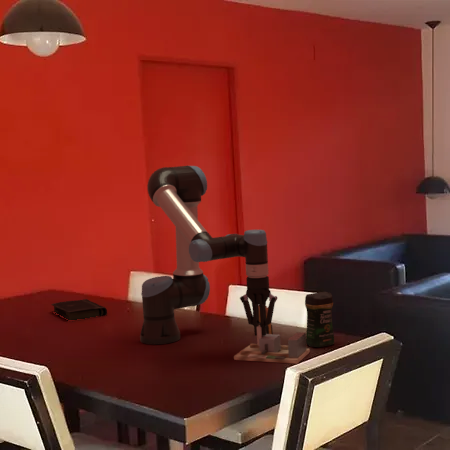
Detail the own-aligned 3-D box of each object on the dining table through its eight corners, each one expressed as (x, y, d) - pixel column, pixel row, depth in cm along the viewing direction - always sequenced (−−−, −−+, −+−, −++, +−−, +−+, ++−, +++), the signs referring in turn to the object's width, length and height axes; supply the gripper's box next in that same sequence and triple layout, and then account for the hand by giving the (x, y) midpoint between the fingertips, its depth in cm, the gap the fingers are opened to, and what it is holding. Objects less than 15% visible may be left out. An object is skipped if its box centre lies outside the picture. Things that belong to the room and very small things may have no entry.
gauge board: (233, 359, 246) (233, 352, 246) (249, 348, 259) (249, 341, 259) (297, 364, 238) (296, 356, 237) (309, 352, 251) (309, 345, 250)
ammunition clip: (273, 338, 272) (271, 306, 270) (268, 339, 271) (267, 307, 270) (260, 332, 281) (258, 301, 280) (255, 333, 281) (254, 302, 280)
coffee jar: (316, 349, 254) (313, 296, 252) (302, 344, 261) (300, 293, 259) (338, 344, 258) (336, 292, 256) (325, 340, 265) (323, 289, 263)
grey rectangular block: (255, 357, 243) (254, 342, 242) (267, 348, 253) (266, 333, 252) (270, 357, 241) (269, 342, 240) (280, 349, 251) (280, 334, 250)
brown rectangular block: (288, 357, 241) (287, 339, 240) (297, 349, 250) (297, 332, 249) (297, 358, 240) (296, 340, 239) (306, 350, 249) (305, 332, 248)
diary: (88, 308, 349) (88, 298, 349) (107, 317, 327) (107, 306, 327) (50, 314, 340) (49, 303, 340) (66, 323, 318) (65, 311, 318)
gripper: (235, 277, 247) (239, 346, 249) (271, 278, 241) (275, 348, 244) (243, 273, 253) (247, 341, 256) (279, 274, 248) (282, 343, 250)
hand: (261, 344), depth 250 cm, fingers closed
